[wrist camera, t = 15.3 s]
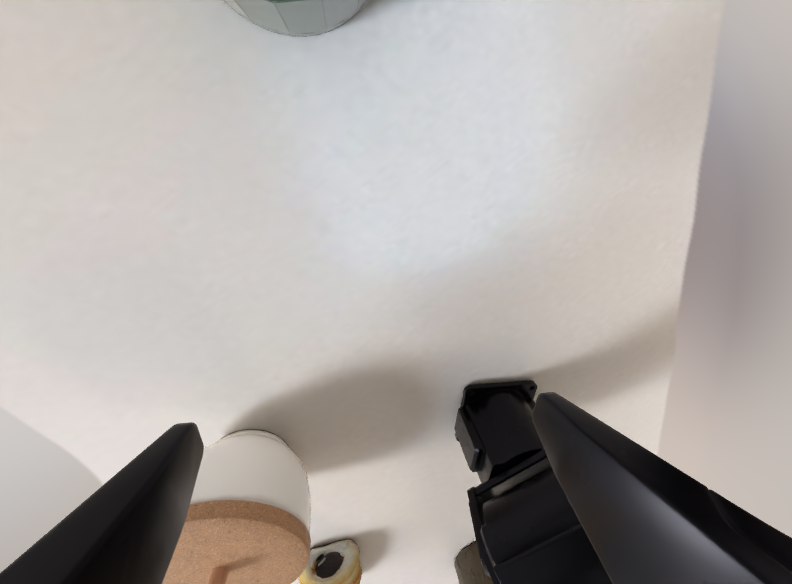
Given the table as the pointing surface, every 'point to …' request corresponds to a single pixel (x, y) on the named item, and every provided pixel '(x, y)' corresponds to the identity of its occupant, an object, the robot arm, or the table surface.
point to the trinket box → (245, 515)
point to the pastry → (333, 564)
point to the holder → (297, 14)
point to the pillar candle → (470, 567)
